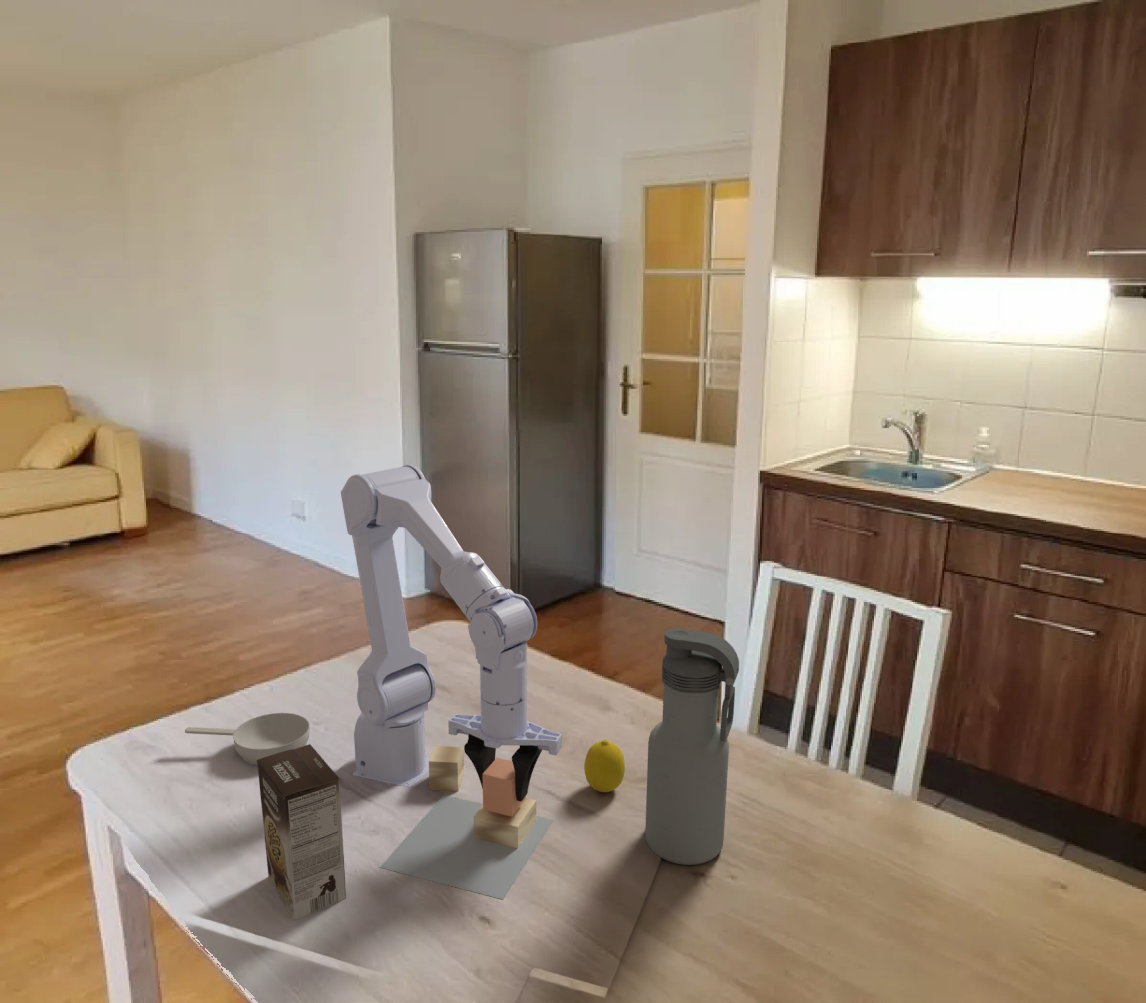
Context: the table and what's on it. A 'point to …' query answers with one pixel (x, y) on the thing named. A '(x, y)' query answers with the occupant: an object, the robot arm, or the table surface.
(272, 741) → the small pan
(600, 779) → the lemon
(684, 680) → the water bottle
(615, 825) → the table surface
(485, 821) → the block
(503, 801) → the terracotta block
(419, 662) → the robot arm
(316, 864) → the coffee box
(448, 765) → the birch block
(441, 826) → the board
